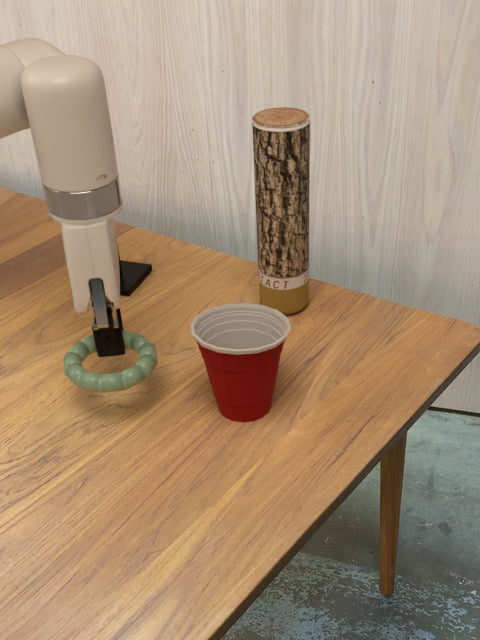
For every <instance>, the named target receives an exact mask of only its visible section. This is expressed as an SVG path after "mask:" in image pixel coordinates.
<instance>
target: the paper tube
mask: <svg viewBox="0 0 480 640" xmlns="http://www.w3.org/2000/svg"><path fill="white" fill-rule="evenodd" d="M310 117H311V115H310V113H308V112H307V111H306V110H303V109H299V108H296V107H287V106H285V107H284V106H282V107H281V106H280V107H269V108H266V109H262V110H259V111H257V112H255V113H254V114H253V116H252V117H251V118H252V122H251V125H252V127H251V128H252V151H253V152H252V153H253V174H254V196H255V197H254V198H255V199H254V200H255V221H256V245H257V246H256V247H257V249H256V250H257V270H258V287H259V288H258V290H259V291H258V292H259V293H258V294H259V303H260V305H264V306H267V307H270V308H273V309H276V310H278V311H279V312H281V313H282V314H283V315H285V316H287V315H288V316H289V315H295V314H297V313H298V312H301V311H303V310H304V309H305V308H306V307H307V305H308V303H309V298H310V297H309V295H310V294H309V289H310V286H309V285H310V284H309V283H310V281H309V280H310V279H309V278H310V183H311V181H310V178H311V177H310V175H311V172H310V171H311V169H310V165H311V164H310V162H311V157H310V155H311V119H310Z"/></svg>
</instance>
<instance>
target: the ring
mask: <svg viewBox="0 0 480 640" xmlns="http://www.w3.org/2000/svg"><path fill="white" fill-rule="evenodd" d="M122 333H123V339H124V345H125V350H129V351H133V352H134V353H136V354H137V355H138V357H139V359H138V360H137V361H136V363H134V365H133V366H130V367H128V368H126V369H124V370H122V371H119V372H109V373H103V374H102V373H98V372H94V371H93V372H92V371H88V370H87V369H86V368H84V366H83V362H84V361H85V360H86V359H87V358H88V357H89V356H91V355H93V354H95V353H97V350H96V345H95V340H94V335H93V333H92V334H90V335H87V336H85V337H83V338H80V339H79V340H77V341H76V342H75V343H74V344H73V345H72V346H71V347H70V348H69V349H68V350H67V351H66V352H65V354H64V356H63V374H64V376H65V377H66V378H67V379H68V380H69V381H70V382H72V383H73V384H74V385H75V386H76V387H77V388H79V389H81V390H85V391H90V392H95V393H100V394H107V393H113V392H123V391H127V390H129V389H131V388H133V387H136V386H138V385H139V384H142V383H143V382H145V381H147V380H148V379H149V377H150V376H151V375H152V373H153V372H154V371H155V370H156V368H157V367H158V364H159V359H158V352H157V347H156V346H155V344H154V343H153V342H152V341H151V340H149V339H148V338H146V337H145V336H144V335H142V334H140V333H138V332H132V331H127V330H124V331H122Z"/></svg>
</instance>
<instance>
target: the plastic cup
mask: <svg viewBox="0 0 480 640" xmlns="http://www.w3.org/2000/svg"><path fill="white" fill-rule="evenodd" d="M189 326H190V332H191V336H192V339H193V340H195V342H196V344H197V346H198V349H199V351H200V354H201V358H202V359H203V363H204V366H205V370H206V372H207V377H208V380H209V383H210V387H211V389H212V390H211V391H212V394H213V396H214V398H215V401H216V405H217V407H218V411H219V413H220V414H221V415H222V417H224V419H227V420H229V421H232V422H236V423H250V422H255V421H257V420H260V419H263V418H264V417H265V416H266V415H268V414H269V413H270V410H271V408H272V404H273V403H272V402H273V397H274V391H275V389H276V384H277V377H278V372H279V368H280V362H281V361H280V360H281V355H282V352H283V349H284V345H285V342H286V341H287V338H288V337H289V334H290V332H291V329H292V325H291V321H290V320H289V317H287V315H283V314H282V313H281V312H279V311H278V310H276V309H273V308H270V307H267V306H264V305H261V304H256V303H249V302H248V303H247V302H238V303H237V302H236V303H225V304H221V305H217V306H214V307H210V308H207V309H205V310H204V311H202V312H201V313H198V314H197V315H195V317H194V318H193V320H192V321H191V323H190V325H189Z"/></svg>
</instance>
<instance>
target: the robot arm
mask: <svg viewBox="0 0 480 640" xmlns="http://www.w3.org/2000/svg"><path fill="white" fill-rule="evenodd" d="M109 108H110V107H109V100H108V96H107V89H106V82H105V78H104V75H103V71H102V70H101V67H100V66H99V65H98V64H97V63H96V62H95V61H93V60H92V59H90V58H88V57H84V56H81V55H75V54H66V53H65V52H63V51H62V50H60V49H59V48H58V47H56V46H54V45H53V44H52V43H50V42H48V41H46V40H44V39H41V38H39V37H24V38H19V39H16V40H12V41H8V42H5V43H3V44H0V140H1V139H4V138H6V137H9V136H11V135H14V134H16V133H17V134H18V133H19V132H22V131H24V130H30V133H31V138H32V143H33V148H34V151H35V157H36V161H37V165H38V169H39V174H40V179H41V184H42V188H43V192H44V197H45V203H46V206H47V210H48V215H49V217H50V218H51V219H52V220H53V221H55V222H57V223H60V229H61V236H62V237H61V239H62V244H63V250H64V256H65V262H66V269H67V273H68V278H69V284H70V290H71V295H72V300H73V306H74V311H75V312H76V313H77V314H79V315H81V314H83V313H87V311H88V310H89V313H90V316H91V318H90V319H91V323H92V325H91V330H92V334H93V335H94V340H95V345H96V350H97V352H96V355H97V357H98V358H107V357H118V356H124V355H125V354H126V349H125V345H124V339H123V333H122V331H125V330H124V324H123V323H124V322H123V318H122V313H121V307H120V306H121V295H120V270H119V258H118V250H119V247H118V248H117V244H118V239H117V240H116V238H117V234H116V227H115V220H114V218H115V217H116V216H118V215H119V214H120V213H121V212H122V210H123V207H124V203H123V196H122V188H121V182H120V175H119V169H118V162H117V156H116V155H117V154H116V149H115V141H114V135H113V134H114V133H113V129H112V122H111V121H112V120H111V116H110V115H111V114H110V109H109Z"/></svg>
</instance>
